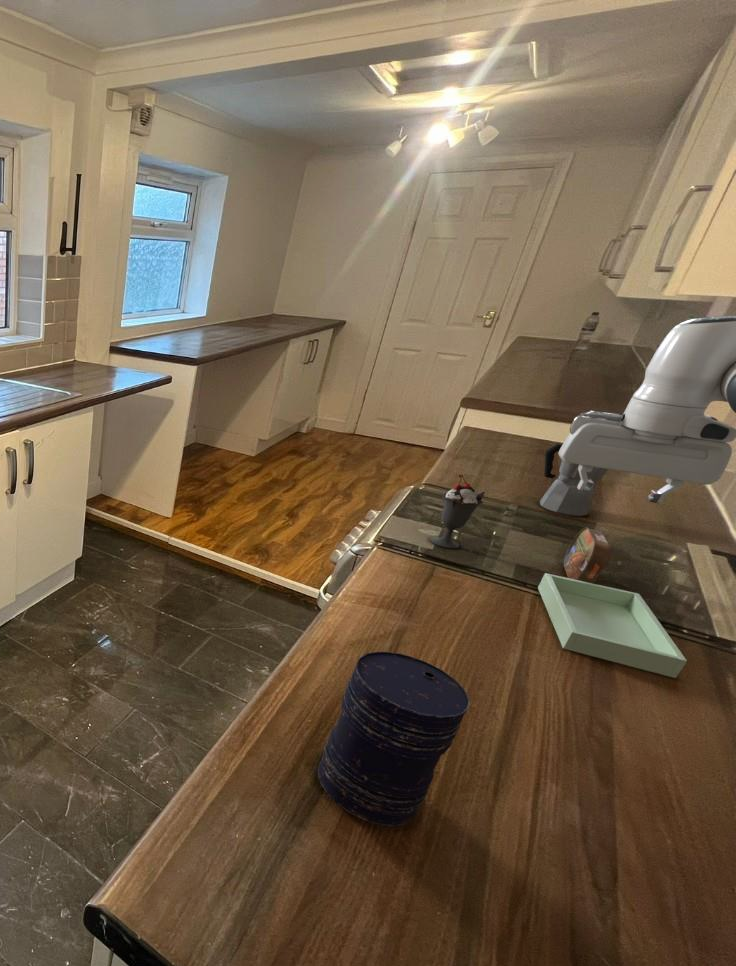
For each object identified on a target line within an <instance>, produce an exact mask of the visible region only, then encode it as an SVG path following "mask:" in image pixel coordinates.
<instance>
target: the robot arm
mask: <svg viewBox="0 0 736 966" xmlns="http://www.w3.org/2000/svg"><path fill="white" fill-rule="evenodd" d="M712 402H722V403H723V402H724V403H725V402H726V403H728V405H729V406H730V409H731V410H732V411H733V413H735V414H736V315H730V316H720V315H719V316H705V317H698V318H697V317H696V318H691V319H688V320H685V321H682V322H680V323H678V324H677V325H675V326H674V327H673V328H672V329H671V330H670V331H669V332H668V333H667V334H666V336H665V337H664V338H663V340H662V341H661V343H660V344H659V346H658V347H657V349H656V351H655V352H654V354H653V356H652V358H651V360H650V361H649V363H648V365H647V367H646V369H645V373H644V379H643V382H642V384H641V385H640V386H639V388H637V390H636V391H634V393H633V394H632V396H631V398H630V400H629V402H628V404H627V406H626V408H625V410H624V412H623V413H614V412H601V411H597V410H589V411H588V412H583V413H579V414H578V415H577V416H576V417H574V419H573V420H572V422H571V424H570V427H569V434H567V435H568V436H567V437H566V438H565V440H564V441H563V443H562V444H563V445H562V446H561V448H560V450H559V452H558V456H559V459H560V460H561V461H562V460H563V461H564V462H566V463H572V464H579V467H578V470H579V474H580V478H581V480H580V482H579V484H578V487H577V488H578V490H584V491H590V490H591V487H592V486H593V484H594V482H592V480H588V477H587V473H586V472H591V471H592V469H593V467H598V468H604V469H608V470H610V471H617V472H618V471H619V472H624V473H631V474H637V475H641V476H642V475H643V476H648V477H656V478H661V479H666V480H665V482H666V483H667V484H666V485H664V486H663V487H661V488H659V489H658V490H654V489H651V490H650V491H649V495H647V497H646V501H647V502H648V503H653V504H659V505H660V504H662V503H663V501H664V499H665V498H666V496H668V495H669V494H672V493H673V492H675V491H677V490H678V489H679V490H680V488H681V487H682V486H683V485H684V482H687V483H693V484H699V485H706V486H708V485H712V484H713V483H716V482H718V481H719V480H720V479H721V478H722V476H723V475H724V472H725V471H726V469H727V467H728V464H729V463H730V460H731V458H732V454H733V447H732V446H731V444H730V443H732V442H734V441H735V440H736V428H735V427H734V426H732V425H730V424H728V423H725V422H723V421H721V420H718V419H717V418H716V417H713V416H711V415H708V414H707V415H705V413H706V410H707V409H708V407H709V405H710V404H711V403H712Z"/></svg>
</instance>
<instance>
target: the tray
mask: <svg viewBox="0 0 736 966" xmlns="http://www.w3.org/2000/svg"><path fill="white" fill-rule="evenodd" d="M540 580H541V581H540V582H539V584H538V586H537V589H538V593H539V594H540V596H541V599H542V601H543V605H544V606H545V609H546V611H547V613H548V616H549V619H550V620H551V623H552V625H553V628H554V630H555V632H556V635H557V638H558V640H559V643H560V645H561V648H562V649H563V650H567V651H571V652H575V653H577V654H578V653H579V654H582V655H586V656H589V657H593V658H597V659H600V660H601V659H602V660H606V661H607V662H611V663H612V662H613V663H617V664H620V665H624V666H628V667H631V668H635V669H639V670H642V671H646V672H650V673H654V674H659V675H661V676H666V677H669V678H674V679H676V678H677V677H678V675H680V672H681V671H682V669H683V668H684V667H685V665H686V664H687V662H688V660H687V658H686V657H685V656H684V655H683V653H682V651H681V650H680V648H679V647H678V646H677V644H676V643H675V642H674V641H673V639H672V637H671V636H670V635H669V633H668V632H667V630H666V629H665V627H664V626H663V625H662V624H661V622H660V621H659V620H658V618H657V617H656V615H655V614H654V612H653V611H652V610H651V608H650V607H649V605H648V604H647V603H646V601H645V600H644V598H643V597H642V596H641V594H640V593H638V592H633V591H629V590H628V591H627V590H624V589H620V588H615V587H610V586H605V585H601V584H598V583H597V584H596V583H593V584H592V583H588V582H583V581H579V580H574V579H570V578H568V577H565V576H560V575H555V574H550V573H546V572H544V574H543V576H542V578H541V579H540Z"/></svg>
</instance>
